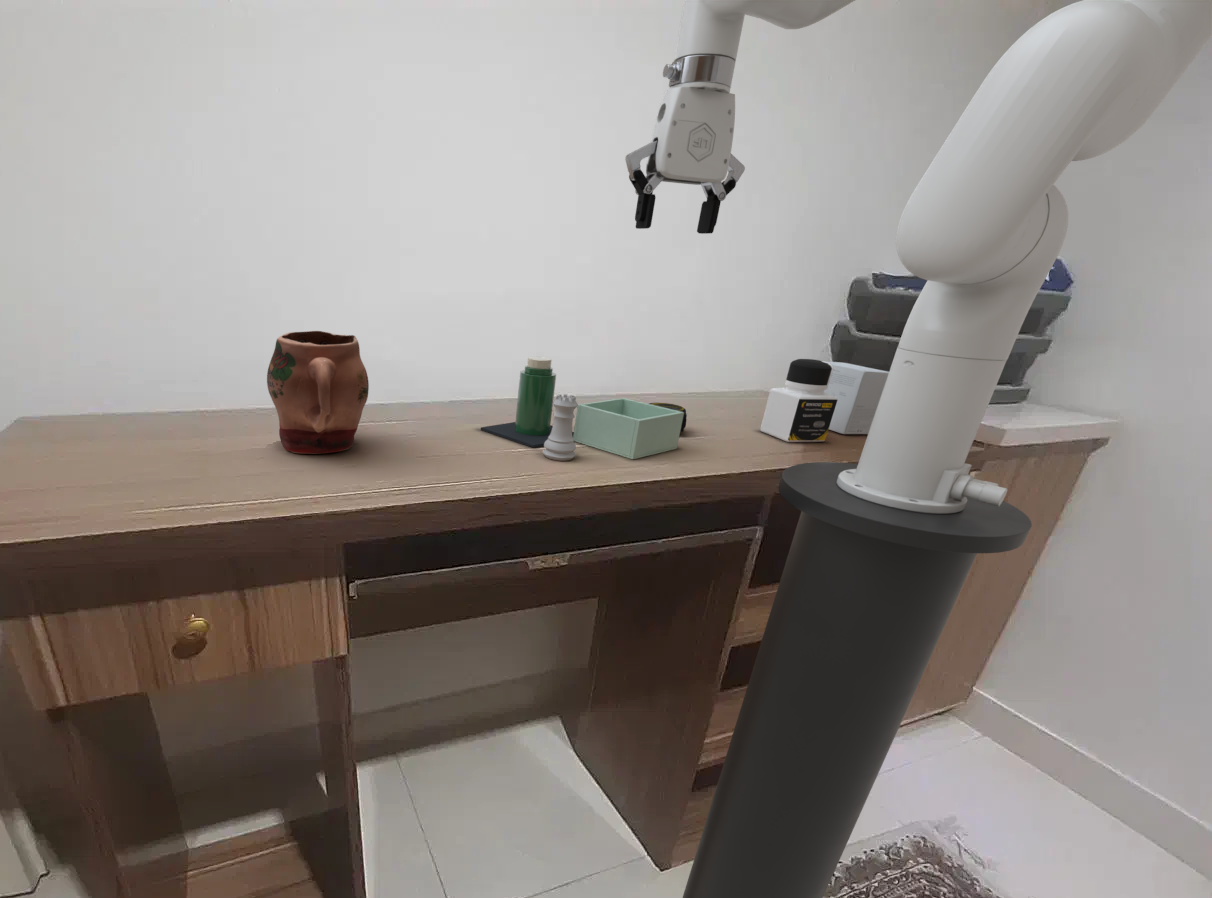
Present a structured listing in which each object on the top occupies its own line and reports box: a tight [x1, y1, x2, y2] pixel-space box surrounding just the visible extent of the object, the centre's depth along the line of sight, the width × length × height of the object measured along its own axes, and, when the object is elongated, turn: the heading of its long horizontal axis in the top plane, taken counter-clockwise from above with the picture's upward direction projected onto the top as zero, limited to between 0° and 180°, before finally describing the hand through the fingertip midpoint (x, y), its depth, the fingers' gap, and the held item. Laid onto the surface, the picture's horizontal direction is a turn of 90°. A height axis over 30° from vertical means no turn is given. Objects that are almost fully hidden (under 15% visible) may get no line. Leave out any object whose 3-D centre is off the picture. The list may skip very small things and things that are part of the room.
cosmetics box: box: [824, 361, 889, 435], centre depth 111 cm, size 10×6×10 cm, turn 15°
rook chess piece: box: [542, 393, 579, 462], centre depth 85 cm, size 4×4×8 cm
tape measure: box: [648, 402, 688, 433], centre depth 103 cm, size 7×7×4 cm
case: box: [573, 397, 684, 460], centre depth 93 cm, size 11×11×5 cm
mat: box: [480, 421, 574, 449], centre depth 96 cm, size 11×11×1 cm
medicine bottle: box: [759, 358, 838, 443], centre depth 102 cm, size 7×7×12 cm
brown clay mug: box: [266, 330, 370, 455], centre depth 80 cm, size 20×12×14 cm, turn 21°
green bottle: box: [514, 356, 557, 436], centre depth 94 cm, size 5×5×10 cm
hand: (674, 230), depth 90 cm, fingers open, 9 cm apart
